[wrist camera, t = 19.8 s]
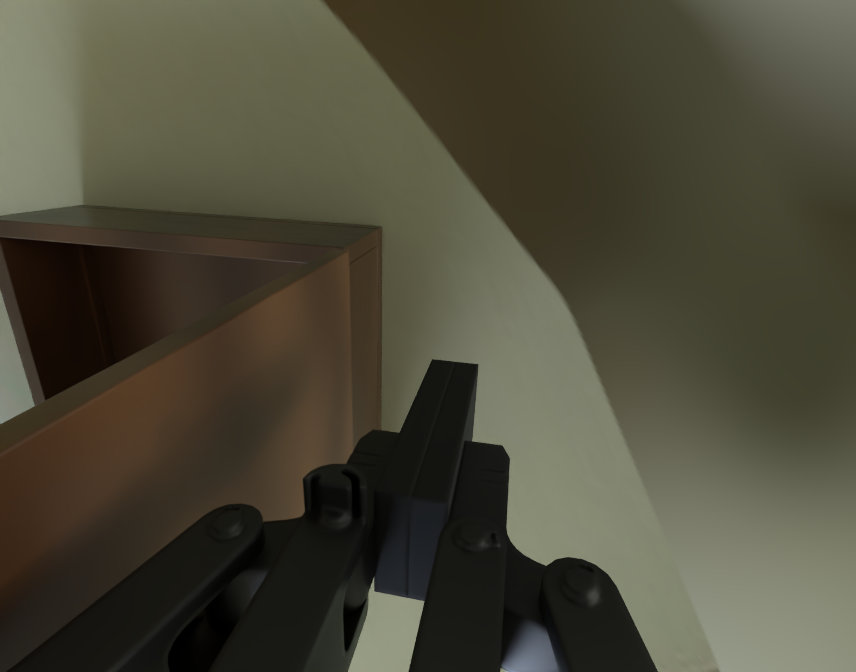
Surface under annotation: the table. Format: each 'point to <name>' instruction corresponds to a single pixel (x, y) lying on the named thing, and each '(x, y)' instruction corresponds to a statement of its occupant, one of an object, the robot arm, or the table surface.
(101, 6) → the table surface
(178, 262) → the chest
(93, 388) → the lid
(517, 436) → the table surface
